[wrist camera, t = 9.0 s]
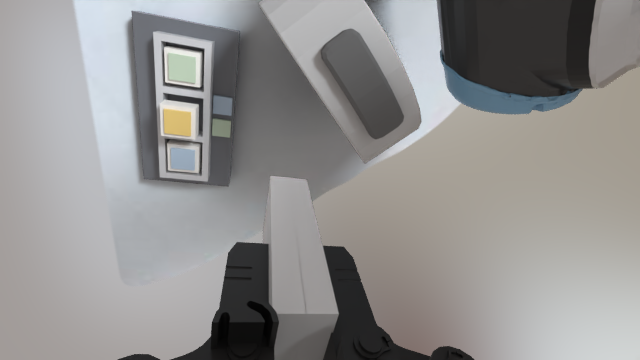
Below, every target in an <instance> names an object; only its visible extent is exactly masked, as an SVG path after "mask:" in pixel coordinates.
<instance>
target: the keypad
mask: <svg viewBox="0 0 640 360" xmlns="http://www.w3.org/2000/svg"><path fill="white" fill-rule="evenodd" d="M132 23H133V37H134V51H135V65H136V79H137V92H138V106H139V120H140V134H141V148H142V162H143V176H144V179H152V180H163V181H174V182H185V183H196V184H207V185H218V186H229V181H230V169H231V154H232V139H233V124H234V109H235V94H236V80H237V65H238V50H239V35H240V31H236V30H231V29H226V28H221V27H216V26H211V25H205V24H200V23H195V22H190V21H185V20H180V19H175V18H170V17H165V16H160V15H155V14H150V13H145V12H139V11H132ZM166 46H174V47H179V48H185V49H190V50H196V51H202V52H204V53H203V85H202V86H201V87H200V88H199V87H193V86H186V85H180V84H173V83H167V82H165V59H164V47H166ZM163 100H171V101H178V102H185V103H192V104H199V131H198V136H197V138H196V140H193V139H185V138H176V137H168V136H161V124H160V103H161V102H162V101H163ZM170 139H177V140H186V141H194V142H202V151H201V169H200V171H199V173H191V172H181V171H170V170H168V152H167V143H168V142H169V141H170Z"/></svg>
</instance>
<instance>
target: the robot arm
mask: <svg viewBox="0 0 640 360" xmlns="http://www.w3.org/2000/svg"><path fill="white" fill-rule="evenodd" d="M437 9H438V19H439V28H440V38H441V48H442V49H441V51H440V58H441V62H442V64H443V66H444V71H445V78H446V84H447V88H448V90H449V91H450V92H451V93H452V95H453V96H454V98H455V99H456V100H458V101H459V102H461V103H462V104H464V105H466V106H468V107H471V108H474V109H477V110H481V111H486V112H491V113H499V114H529V113H530V112H531V111H532V110H538V111H542V112H544V111H549V110H552V109H556V108H559V107H561V106H563V105H565V104H568V103H570V102H571V101H572V100H574V99H575V98H576V97H577V96H578V94H579V93H580V92H581V91H582V89H583V88H596V89H597V88H604V87H605V86H607V85H608V84H610V83H611V82H613V81H614V80H616V79H617V78H619V77H620V76H621V75H623V74H625V73H626V72H628V71H630V70H632V69H635V68H637V67H640V0H437ZM118 360H160V359H158V358H156V357H154V356H151V355H149V354H134V355H131V356H127V357H124V358H121V359H118ZM171 360H474V359H473V358H472V357H471V356H469V355H468V354H466V353H464V352H463V351H461V350H460V349H456V348H453V347H450V346H445V347H439V348H438V349H436V350H435V351H433V353H432V355H431V357H430V356H427V355H423V354H421V353H417V352H414V351H411V350H408V349H405V348H402V347H400V346H398V345H396V344H394V343H393V341H392V339H391V338H390V336H389V335H388V334H387V333H386V332H385V331H384V330H383V329H382V328H380V327H379V326H377V324H376V322H375V319H374V316H373V313H372V310H371V308H370V305H369V302H368V299H367V296H366V293H365V290H364V288H363V285H362V282H361V279H360V276H359V274H358V272H357V268H356V265H355V262H354V259H353V257H352V256H351V255H350V254H349V252H348V251H347V250H346V249H345V248H344V247H336V246H323V245H322V241H321V237H320V233H319V228H318V224H317V220H316V216H315V212H314V207H313V203H312V199H311V195H310V191H309V186H308V182H307V179H298V178H288V177H278V176H270V182H269V189H268V197H267V204H266V212H265V220H264V227H263V244H260V243H243V242H237V243H236V244H235V245H234V247H233V248H232V249H231V250H230V252H229V253H228V259H227V265H226V271H225V276H224V282H223V289H222V295H221V301H220V307H219V310H218V311H217V312H216V314H215V316H214V319H213V321H212V330H211V337H210V338H209V339H208V340H207V341H206V342H205V343H204V344H203V345H202V346H201V347H199V348H198V349H196V350H195V351H193V352H190V353H188V354H186V355H183V356H180V357H177V358H174V359H171Z"/></svg>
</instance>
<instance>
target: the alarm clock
mask: <svg viewBox="0 0 640 360" xmlns="http://www.w3.org/2000/svg"><path fill="white" fill-rule="evenodd" d="M259 7H260V8H261V10H262V11H263V13H264V15H265V16H266V18H267V19H268V21H269V22H270V24H271V25H272V27H273V28H274V30H275V31H276V33H277V34H278V36H279V37H280V39H281V40H282V42H283V43H284V45H285V46H286V48H287V49H288V51H289V52H290V54H291V55H292V57H293V58H294V60H295V62H296V63H297V64H298V66H299V67H300V69H301V70H302V72H303V73H304V75H305V76H306V78H307V79H308V81H309V82H310V84H311V85H312V87H313V88H314V90H315V91H316V93H317V94H318V96H319V97H320V99H321V100H322V102H323V103H324V105H325V106H326V108H327V109H328V111H329V112H330V114H331V115H332V117H333V118H334V120H335V121H336V123H337V124H338V126H339V127H340V129H341V130H342V132H343V133H344V134H345V136H346V137H347V139H348V140H349V142H350V143H351V145H352V146H353V148H354V149H355V151H356V152H357V154H358V155H359V156H360V158H361V159H362V161H363V162H364V163H367V162H368V161H370V160H371V159H373V158H374V157H376V156H378V155H379V154H381V153H382V152H384V151H385V150H387V149H388V148H390V147H391V146H393V145H394V144H396V143H397V142H399V141H400V140H402V139H403V138H405V137H406V136H408V135H409V134H411V133H412V132H414V131H415V130H417V129H418V128H419V126H420V124H421V114H420V108H419V105H418V102H417V99H416V95H415V92H414V89H413V87H412V85H411V83H410V80H409V78H408V76H407V74H406V71H405V69H404V67H403V65H402V62H401V61H400V59H399V57H398V55H397V53H396V51H395V49H394V48H393V46H392V44H391V42H390V40H389V38H388V36H387V35H386V33H385V31H384V30H383V28H382V27H381V25H380V24H379V22H378V20H377V19H376V17H375V16H374V14H373V12H372V11H371V9H370V8H369V6H368V5H367V3H366V2H365V1H364V0H262V1H261V2H259Z"/></svg>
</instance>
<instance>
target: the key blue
mask: <svg viewBox="0 0 640 360" xmlns="http://www.w3.org/2000/svg"><path fill="white" fill-rule="evenodd" d="M201 151H202V142H194V141H186V140H177V139H170V141H169V142H168V143H167V152H168V170H170V171H181V172H191V173H199V171H200V169H201Z"/></svg>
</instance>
